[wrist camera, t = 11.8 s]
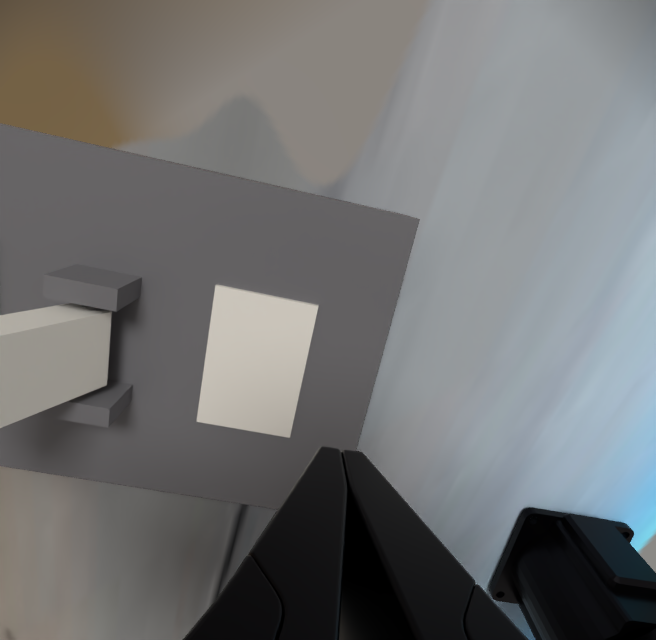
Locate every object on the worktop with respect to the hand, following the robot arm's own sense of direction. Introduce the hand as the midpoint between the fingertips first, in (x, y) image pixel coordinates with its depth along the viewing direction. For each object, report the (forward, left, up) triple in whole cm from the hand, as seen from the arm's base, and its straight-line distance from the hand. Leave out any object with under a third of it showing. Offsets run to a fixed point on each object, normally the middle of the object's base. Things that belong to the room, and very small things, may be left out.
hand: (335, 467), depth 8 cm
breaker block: (-2, +9, -12) cm, 15 cm away
